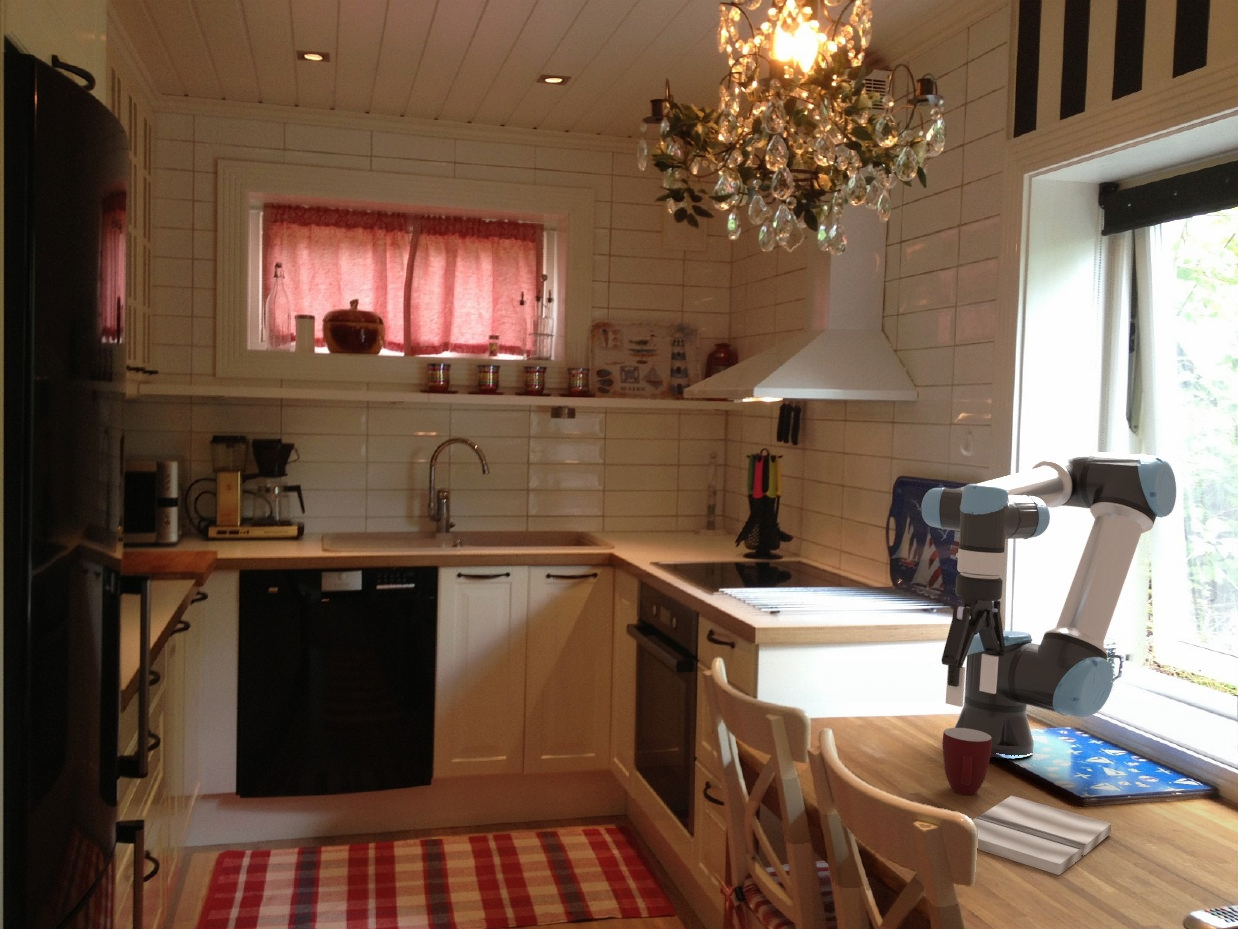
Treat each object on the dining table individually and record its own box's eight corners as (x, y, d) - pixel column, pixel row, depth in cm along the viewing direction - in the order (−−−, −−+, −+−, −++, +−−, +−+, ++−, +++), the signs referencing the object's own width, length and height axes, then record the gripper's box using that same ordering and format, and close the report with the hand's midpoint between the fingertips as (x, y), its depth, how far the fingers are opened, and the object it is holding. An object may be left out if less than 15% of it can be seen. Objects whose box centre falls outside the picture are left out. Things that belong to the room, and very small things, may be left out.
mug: (995, 807, 180) (999, 748, 180) (945, 802, 181) (949, 743, 181) (983, 786, 191) (987, 730, 190) (936, 781, 192) (940, 725, 191)
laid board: (977, 826, 171) (977, 816, 171) (1080, 858, 160) (1081, 847, 160) (952, 841, 164) (953, 830, 164) (1059, 875, 154) (1059, 863, 154)
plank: (1010, 804, 181) (1011, 795, 180) (1110, 833, 170) (1111, 822, 170) (980, 824, 172) (980, 814, 172) (1083, 856, 161) (1084, 845, 161)
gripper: (988, 566, 196) (980, 682, 197) (925, 577, 177) (917, 705, 178) (1029, 572, 191) (1021, 691, 192) (969, 584, 172) (960, 715, 173)
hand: (971, 698), depth 185 cm, fingers open, 13 cm apart
